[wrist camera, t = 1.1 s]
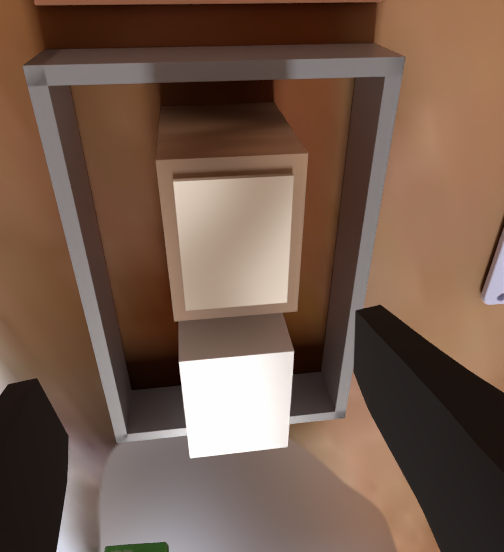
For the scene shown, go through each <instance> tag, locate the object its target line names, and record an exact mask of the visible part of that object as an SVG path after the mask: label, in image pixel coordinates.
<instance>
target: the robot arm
mask: <svg viewBox="0 0 504 552" xmlns="http://www.w3.org/2000/svg"><path fill="white" fill-rule="evenodd" d="M500 294H501V295H500ZM498 295H500V296H498ZM481 299H482V300H483V302H484V303H486V304H488V305H492V304H503V303H504V229H503V232H502V234H501V237H500V240H499V243H498V246H497V249H496V252H495V255H494V258H493V261H492V264H491V267H490V270H489V273H488V276H487V279H486V282H485V285H484V288H483V291H482V294H481ZM354 374H355V377H356V379H357V382H358V385H359V387H360V390H361V392H362V395H363V397H364V400H365V402H366V405H367V407H368V409H369V412H370V413H371V415H372V417H373V419H374V421H375V423H376V425H377V427H378V428H379V430H380V432H381V434H382V436H383V438H384V440H385V441H386V443H387V445H388V447H389V449H390V451H391V452H392V454H393V456H394V458H395V460H396V462H397V463H398V465H399V467H400V469H401V471H402V473H403V474H404V476H405V478H406V480H407V482H408V483H409V485H410V487H411V489H412V491H413V493H414V494H415V496H416V498H417V500H418V502H419V504H420V506H421V508H422V510H423V512H424V514H425V517H426V519H427V521H428V523H429V526H430V528H431V530H432V533H433V535H434V537H435V540H436V542H437V544H438V547H439V549H440V551H441V552H504V393H503V392H502V391H500V390H499V389H497V388H495V387H494V386H492V385H491V384H489V383H488V382H486V381H484V380H483V379H481V378H480V377H478V376H477V375H475V374H474V373H472V372H471V371H469V370H468V369H466V368H465V367H463V366H462V365H461V364H459V363H458V362H456V361H455V360H454V359H452V358H451V357H449V356H448V355H446V354H445V353H444V352H442V351H441V350H439V349H438V348H437V347H435V346H434V345H433V344H431V343H430V342H429V341H427V340H426V339H425V338H423V337H422V336H421V335H419V334H418V333H417V332H415V331H414V330H413V329H411V328H410V327H409V326H408V325H406V324H405V323H404V322H402V321H401V320H400V319H398V318H397V317H396V316H395V315H393V314H392V313H391V312H389V311H388V310H387V309H385V308H384V307H383V306H381V305H378V306H373V307H369V308H364V309H359V310H355V340H354ZM67 472H68V434H67V433H66V431H65V429H64V427H63V425H62V423H61V422H60V420H59V418H58V416H57V414H56V412H55V411H54V409H53V407H52V405H51V403H50V401H49V399H48V398H47V396H46V394H45V392H44V390H43V388H42V387H41V385H40V383H39V381H38V379H37V378H36V379H31V380H26V381H22V382H17V383H12V384H8V385H7V387H6V388H5V389H4V391H3V392H2V394H1V395H0V552H56V550H57V543H58V537H59V531H60V525H61V519H62V512H63V506H64V499H65V493H66V486H67Z"/></svg>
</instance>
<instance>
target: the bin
mask: <svg viewBox="0 0 504 552" xmlns="http://www.w3.org/2000/svg"><path fill="white" fill-rule="evenodd" d="M404 63H405V56H402V55H400V54H398V53H396V52H393V51H391V50H389V49H387V48H384V47H382V46H380V45H378V44H375V43H353V44H301V45H250V46H198V47H147V48H96V49H45V50H43V51H42V52H41V53H39V54H38V55H37V56H35V57H34V58H32V59H31V60H30V61H28V62H27V63H26V64H24V65H23V69H24V73H25V77H26V81H27V85H28V89H29V93H30V97H31V101H32V105H33V109H34V113H35V117H36V121H37V125H38V129H39V133H40V137H41V141H42V145H43V149H44V153H45V157H46V161H47V165H48V169H49V173H50V177H51V181H52V185H53V189H54V193H55V197H56V201H57V205H58V209H59V213H60V217H61V221H62V225H63V229H64V233H65V237H66V241H67V245H68V249H69V253H70V257H71V261H72V265H73V269H74V273H75V277H76V281H77V285H78V289H79V293H80V297H81V301H82V305H83V309H84V313H85V317H86V321H87V325H88V329H89V333H90V337H91V341H92V345H93V349H94V353H95V357H96V361H97V365H98V369H99V373H100V377H101V381H102V385H103V389H104V393H105V397H106V401H107V405H108V409H109V413H110V417H111V421H112V425H113V429H114V433H115V437H116V441H117V443H121V442H130V441H139V440H148V439H158V438H166V437H175V436H184V435H187V428H186V419H185V411H184V402H183V394H182V385H180V386H170V387H160V388H150V389H140V390H131V385H130V381H129V376H128V371H127V366H126V361H125V356H124V351H123V346H122V341H121V336H120V331H119V326H118V321H117V316H116V312H115V307H114V302H113V297H112V292H111V287H110V282H109V277H108V272H107V267H106V262H105V257H104V252H103V247H102V243H101V238H100V233H99V228H98V223H97V218H96V213H95V208H94V203H93V198H92V193H91V188H90V183H89V178H88V173H87V169H86V164H85V159H84V154H83V149H82V144H81V139H80V134H79V129H78V124H77V119H76V114H75V109H74V104H73V100H72V95H71V90H70V85H96V84H132V83H168V82H204V81H240V80H276V79H312V78H349V77H355V85H354V93H353V102H352V111H351V119H350V128H349V136H348V145H347V154H346V162H345V171H344V179H343V188H342V197H341V205H340V214H339V222H338V231H337V240H336V248H335V257H334V265H333V274H332V282H331V291H330V300H329V308H328V317H327V325H326V334H325V343H324V351H323V360H322V368H321V372H313V373H302V374H293V376H292V390H291V405H290V419H289V424H294V423H303V422H312V421H321V420H330V419H340V418H345V413H346V407H347V401H348V396H349V390H350V384H351V378H352V372H353V366H354V340H355V310H359V309H363V306H364V300H365V294H366V288H367V283H368V277H369V271H370V265H371V259H372V253H373V247H374V241H375V235H376V229H377V223H378V217H379V211H380V205H381V199H382V193H383V187H384V181H385V176H386V170H387V164H388V158H389V152H390V146H391V140H392V134H393V128H394V122H395V116H396V110H397V104H398V98H399V92H400V86H401V80H402V74H403V69H404Z"/></svg>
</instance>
